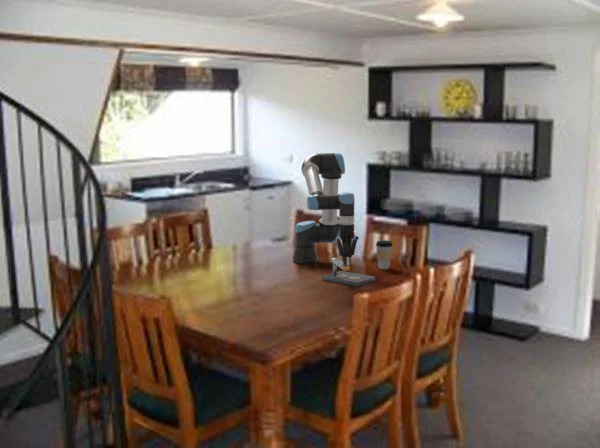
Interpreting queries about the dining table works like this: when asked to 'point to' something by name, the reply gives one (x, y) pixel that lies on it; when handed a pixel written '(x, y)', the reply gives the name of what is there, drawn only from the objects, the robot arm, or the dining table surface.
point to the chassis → (348, 277)
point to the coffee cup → (384, 254)
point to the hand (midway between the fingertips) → (346, 269)
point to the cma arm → (340, 264)
